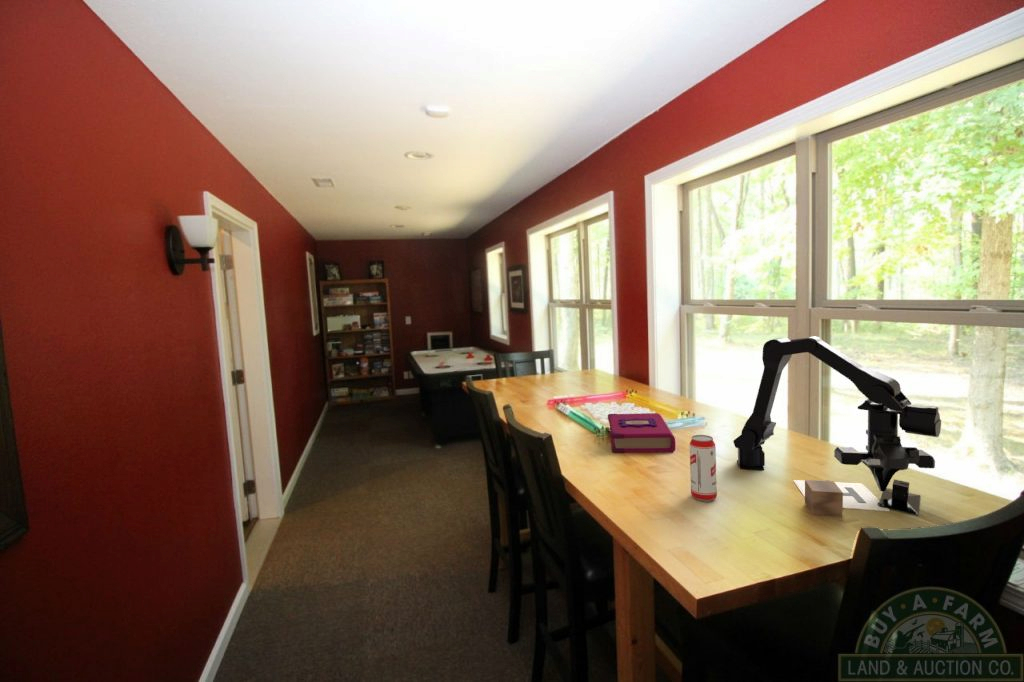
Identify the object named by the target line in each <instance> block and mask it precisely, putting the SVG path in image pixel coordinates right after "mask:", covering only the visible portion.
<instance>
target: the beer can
mask: <svg viewBox="0 0 1024 682" xmlns="http://www.w3.org/2000/svg"><path fill="white" fill-rule="evenodd" d="M716 448H717V447H716V443H715V441H714V437H712V436H710V435H706V434H695V435H692V436H691V440H690V442H689V468H690V469H689V471H690V472H689V473H690V477H689V478H690V494H691V496H692V497H693V498H694V499H695V500H696V501H699V502H704V503H705V502H712V501H714V500H715V499H716V498H717V496H718V492H717V491H718V489H717V488H718V487H717V485H718V483H717V453H716V452H717V449H716Z"/></svg>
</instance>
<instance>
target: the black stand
mask: <svg viewBox="0 0 1024 682" xmlns="http://www.w3.org/2000/svg"><path fill="white" fill-rule="evenodd" d="M909 491H910V482H908V481H905V480H904V481H903V480H898V479H893V482H892V488H888V487H887V488H886V490H885V491H881V496H880V499H879V501H880V502H878V506H879V507H883V508H888V509H889V510H891V511H897V512H901V513H906V514H909V515H915V516H919V510H920V500H921V495H919V494H917V493H911V492H909Z"/></svg>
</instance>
